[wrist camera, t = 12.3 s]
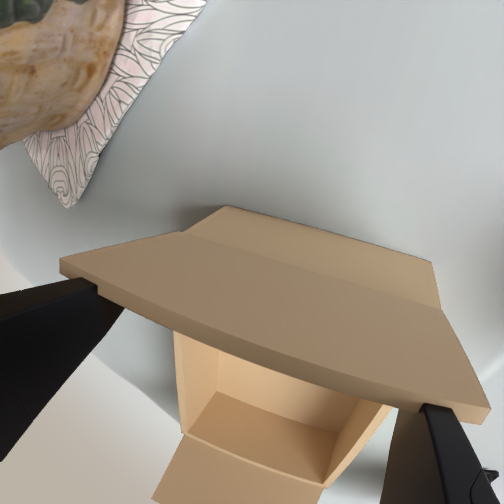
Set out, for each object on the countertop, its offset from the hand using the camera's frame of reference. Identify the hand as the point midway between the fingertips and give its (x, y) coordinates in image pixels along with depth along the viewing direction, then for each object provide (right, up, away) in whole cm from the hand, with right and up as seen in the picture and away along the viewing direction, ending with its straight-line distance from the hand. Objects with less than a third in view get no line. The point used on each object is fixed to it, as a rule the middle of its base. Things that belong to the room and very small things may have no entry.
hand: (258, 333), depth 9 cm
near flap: (+1, 0, +2) cm, 2 cm away
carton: (+3, -4, +14) cm, 15 cm away
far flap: (-2, -17, +11) cm, 21 cm away
